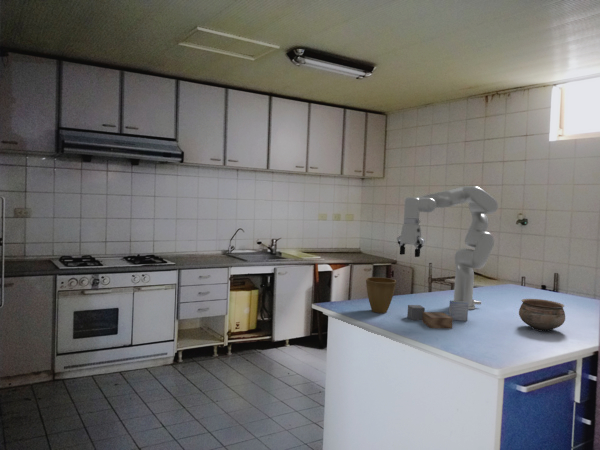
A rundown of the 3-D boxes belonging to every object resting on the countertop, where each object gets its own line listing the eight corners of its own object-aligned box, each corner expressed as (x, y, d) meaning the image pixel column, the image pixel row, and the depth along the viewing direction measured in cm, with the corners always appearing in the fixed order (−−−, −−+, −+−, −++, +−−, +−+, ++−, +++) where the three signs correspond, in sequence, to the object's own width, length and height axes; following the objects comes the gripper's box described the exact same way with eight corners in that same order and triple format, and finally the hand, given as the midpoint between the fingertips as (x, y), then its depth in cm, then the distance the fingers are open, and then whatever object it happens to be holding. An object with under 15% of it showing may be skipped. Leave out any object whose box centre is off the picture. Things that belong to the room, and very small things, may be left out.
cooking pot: (528, 320, 234) (530, 296, 234) (571, 329, 221) (573, 303, 220) (508, 329, 216) (510, 302, 216) (554, 339, 203) (556, 310, 203)
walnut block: (443, 323, 223) (443, 312, 222) (451, 329, 213) (452, 318, 213) (422, 322, 222) (422, 311, 222) (430, 328, 212) (430, 317, 212)
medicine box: (465, 319, 232) (466, 301, 231) (467, 321, 227) (468, 303, 227) (448, 317, 233) (449, 300, 232) (450, 320, 228) (451, 302, 228)
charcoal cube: (419, 317, 231) (420, 305, 230) (423, 320, 225) (424, 308, 225) (407, 317, 230) (408, 304, 230) (411, 320, 224) (412, 307, 224)
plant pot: (358, 308, 243) (360, 277, 242) (384, 307, 248) (386, 276, 247) (373, 315, 229) (375, 282, 228) (400, 314, 234) (402, 282, 234)
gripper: (430, 223, 238) (428, 257, 239) (403, 220, 252) (401, 253, 253) (420, 223, 233) (418, 258, 234) (393, 220, 247) (391, 253, 248)
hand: (409, 255), depth 244 cm, fingers open, 9 cm apart
